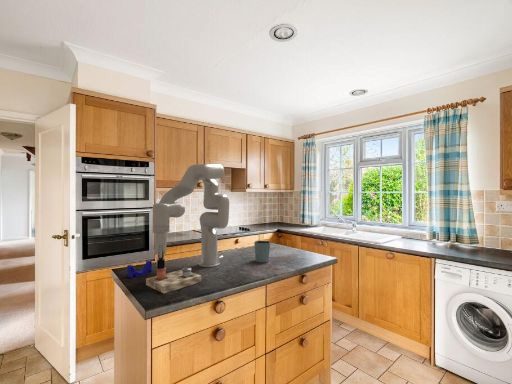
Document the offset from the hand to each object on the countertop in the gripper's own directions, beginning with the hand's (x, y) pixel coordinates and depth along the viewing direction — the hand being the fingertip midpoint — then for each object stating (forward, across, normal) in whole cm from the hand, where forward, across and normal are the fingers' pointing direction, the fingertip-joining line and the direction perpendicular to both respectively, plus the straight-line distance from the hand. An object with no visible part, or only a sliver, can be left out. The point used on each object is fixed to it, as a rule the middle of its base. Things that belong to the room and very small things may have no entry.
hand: (161, 268), depth 128 cm
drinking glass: (+8, -27, +60) cm, 66 cm away
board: (+8, 0, +6) cm, 10 cm away
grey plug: (+8, 0, +12) cm, 14 cm away
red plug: (+6, 0, 0) cm, 6 cm away
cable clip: (+8, -20, -11) cm, 24 cm away
